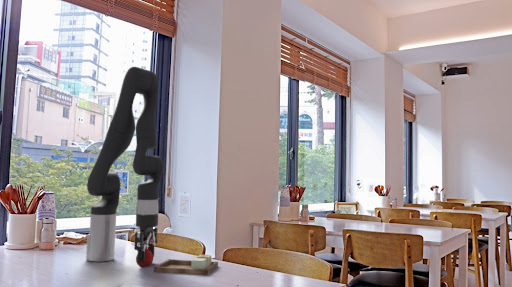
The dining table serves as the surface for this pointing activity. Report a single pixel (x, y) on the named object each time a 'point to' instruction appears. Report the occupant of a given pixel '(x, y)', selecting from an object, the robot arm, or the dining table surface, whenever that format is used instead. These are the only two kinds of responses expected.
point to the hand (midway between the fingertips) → (146, 259)
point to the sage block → (199, 263)
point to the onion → (146, 258)
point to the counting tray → (183, 267)
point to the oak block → (206, 258)
